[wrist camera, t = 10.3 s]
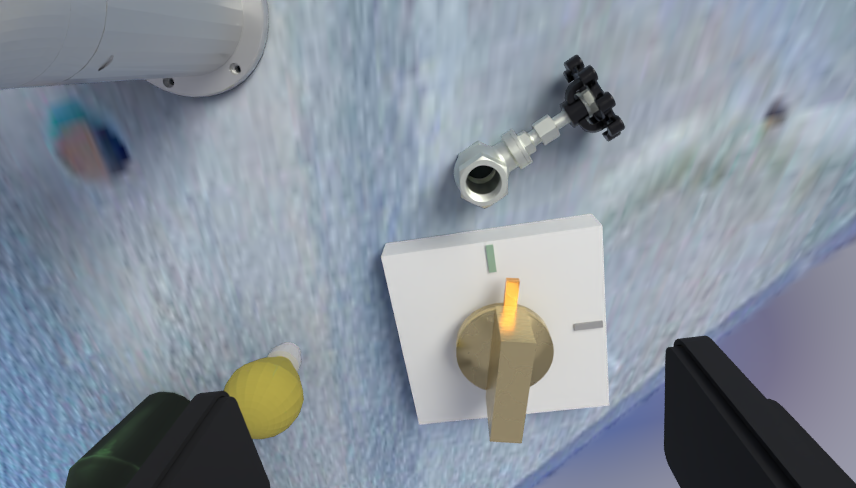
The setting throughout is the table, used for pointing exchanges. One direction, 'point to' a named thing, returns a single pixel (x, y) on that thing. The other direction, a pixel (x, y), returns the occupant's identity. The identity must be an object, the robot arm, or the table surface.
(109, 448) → the potion bottle
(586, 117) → the valve
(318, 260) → the table surface
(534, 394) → the base plate
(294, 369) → the light bulb
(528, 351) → the knob
